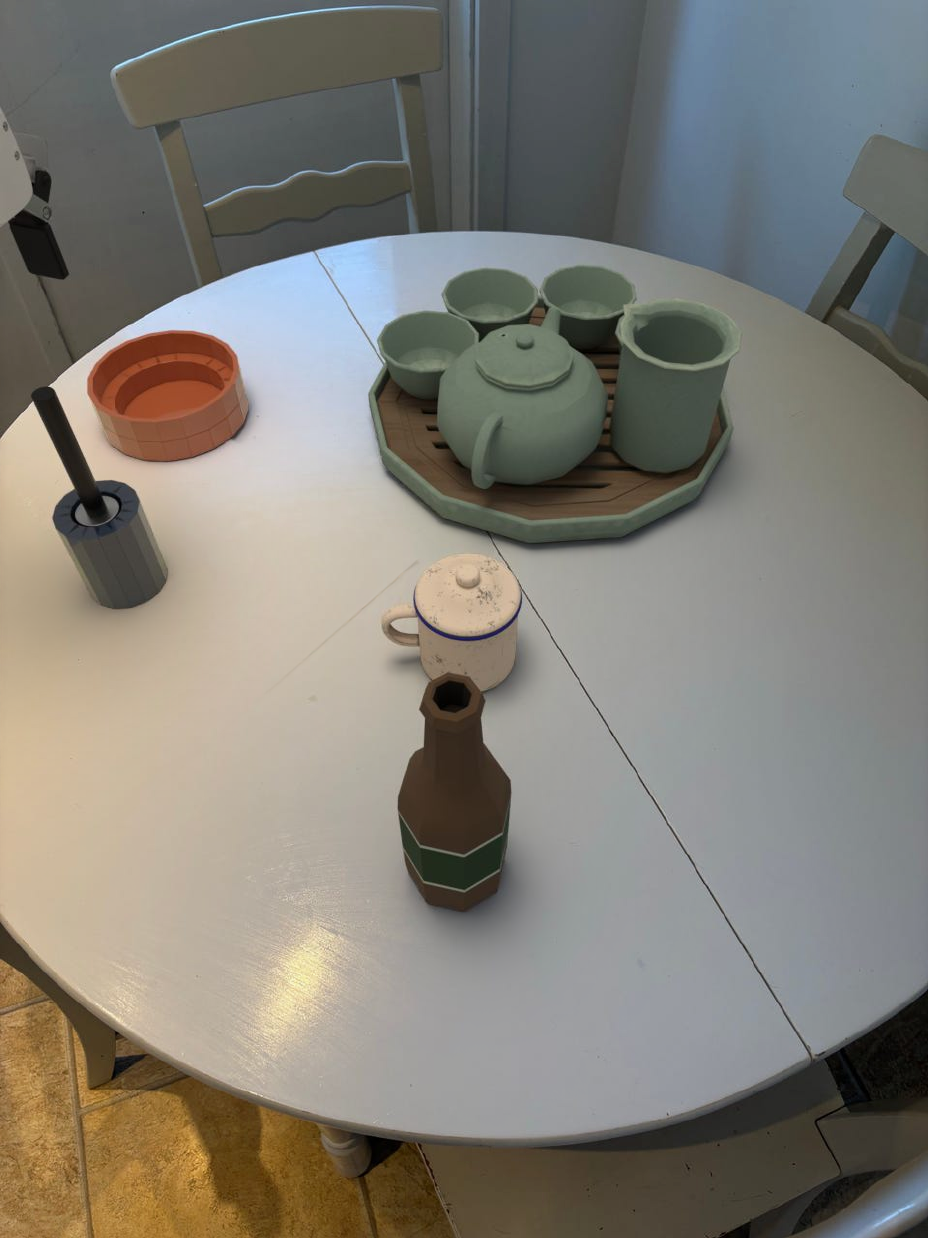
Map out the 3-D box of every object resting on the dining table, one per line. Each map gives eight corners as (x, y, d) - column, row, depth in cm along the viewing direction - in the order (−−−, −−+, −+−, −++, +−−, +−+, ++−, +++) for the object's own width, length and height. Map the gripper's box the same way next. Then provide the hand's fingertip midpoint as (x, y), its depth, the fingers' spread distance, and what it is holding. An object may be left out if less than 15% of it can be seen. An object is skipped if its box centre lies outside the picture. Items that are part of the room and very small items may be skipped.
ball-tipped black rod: (100, 580, 86) (7, 395, 69) (132, 558, 88) (49, 372, 70) (124, 600, 84) (35, 415, 67) (156, 576, 86) (78, 391, 69)
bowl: (75, 423, 101) (56, 380, 96) (187, 356, 109) (174, 313, 104) (166, 486, 95) (151, 442, 90) (278, 410, 102) (269, 366, 98)
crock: (75, 586, 86) (35, 513, 78) (136, 542, 90) (105, 468, 82) (122, 624, 83) (86, 552, 75) (184, 578, 87) (156, 504, 79)
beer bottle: (446, 801, 72) (438, 618, 53) (526, 854, 69) (548, 681, 50) (385, 876, 68) (353, 708, 49) (468, 936, 65) (468, 782, 46)
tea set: (696, 321, 113) (726, 192, 100) (749, 554, 88) (798, 423, 75) (385, 316, 114) (375, 188, 101) (351, 546, 89) (332, 415, 76)
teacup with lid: (513, 614, 84) (518, 528, 75) (522, 695, 78) (529, 612, 69) (385, 620, 83) (375, 534, 74) (386, 702, 78) (375, 620, 69)
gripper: (-69, -21, 55) (38, 241, 69) (-299, 89, 45) (-122, 371, 59) (33, -8, 54) (122, 257, 67) (-184, 109, 44) (-28, 394, 57)
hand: (8, 310), depth 63 cm, fingers open, 9 cm apart
